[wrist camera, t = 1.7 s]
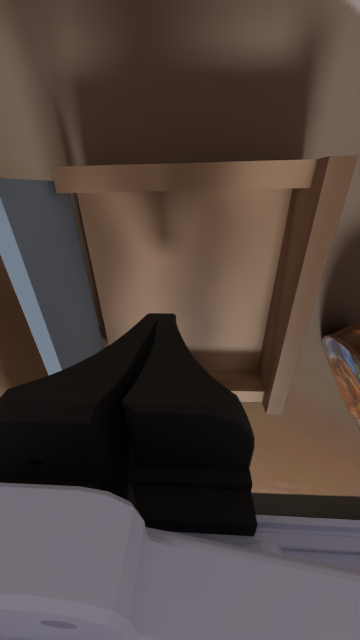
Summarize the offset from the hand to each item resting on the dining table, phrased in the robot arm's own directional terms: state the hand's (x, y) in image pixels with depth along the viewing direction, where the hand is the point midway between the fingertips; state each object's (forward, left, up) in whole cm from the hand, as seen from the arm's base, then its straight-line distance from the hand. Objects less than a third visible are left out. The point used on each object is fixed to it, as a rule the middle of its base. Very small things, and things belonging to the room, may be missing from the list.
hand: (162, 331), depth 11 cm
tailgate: (-5, 0, -4) cm, 6 cm away
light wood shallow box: (+1, 0, -6) cm, 6 cm away
